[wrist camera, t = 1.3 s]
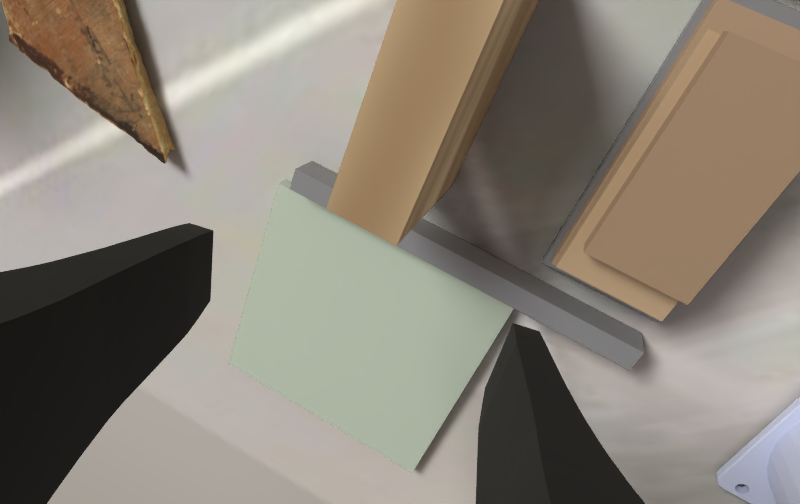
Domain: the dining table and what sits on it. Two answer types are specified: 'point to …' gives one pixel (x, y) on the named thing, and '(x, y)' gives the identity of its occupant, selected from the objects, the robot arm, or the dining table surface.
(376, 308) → the sage mat
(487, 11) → the oak block
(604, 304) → the dining table surface
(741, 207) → the offcut rack
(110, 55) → the shard
